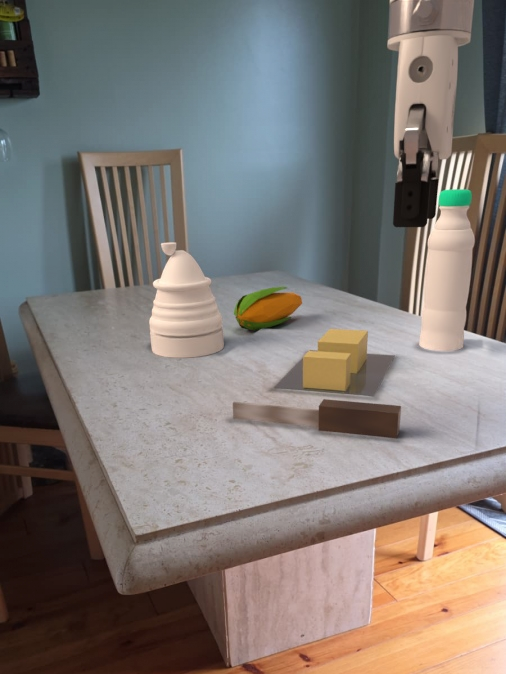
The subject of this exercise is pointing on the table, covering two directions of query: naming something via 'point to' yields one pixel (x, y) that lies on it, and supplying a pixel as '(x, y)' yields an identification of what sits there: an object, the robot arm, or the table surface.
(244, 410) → the knife
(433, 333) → the water bottle
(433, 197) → the robot arm
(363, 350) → the butter block
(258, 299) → the corn
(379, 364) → the butter dish
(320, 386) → the block
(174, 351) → the honey pot
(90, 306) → the table surface
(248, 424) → the table surface
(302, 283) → the table surface
